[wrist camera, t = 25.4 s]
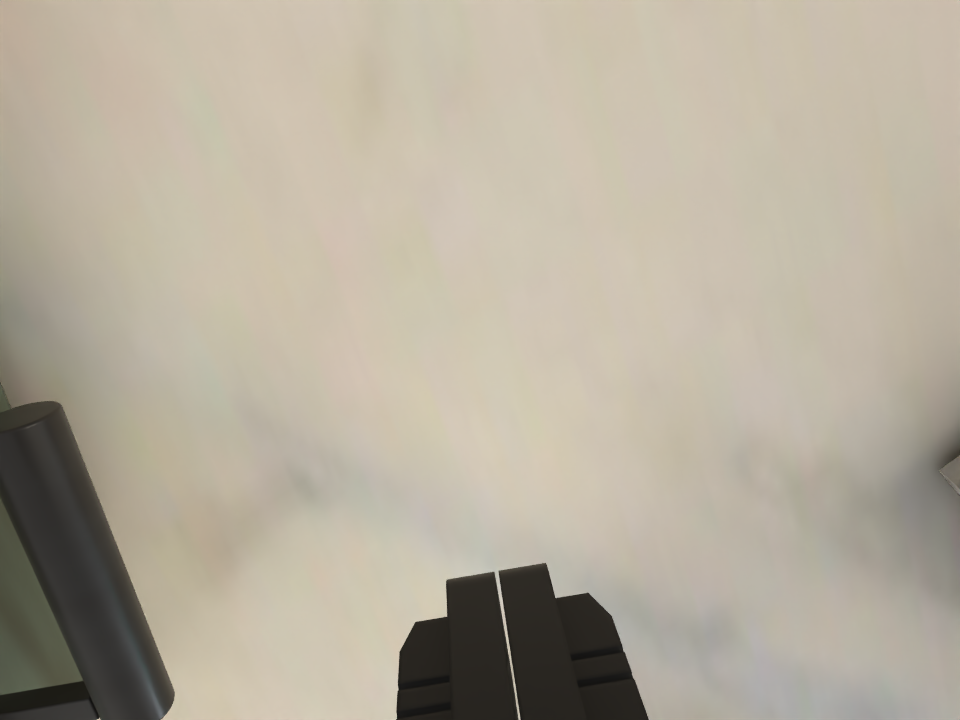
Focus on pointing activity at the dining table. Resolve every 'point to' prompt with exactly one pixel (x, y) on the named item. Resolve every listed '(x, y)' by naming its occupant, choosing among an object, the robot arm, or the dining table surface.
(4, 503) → the drawer
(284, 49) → the dining table surface
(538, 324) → the dining table surface
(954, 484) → the packaged product
